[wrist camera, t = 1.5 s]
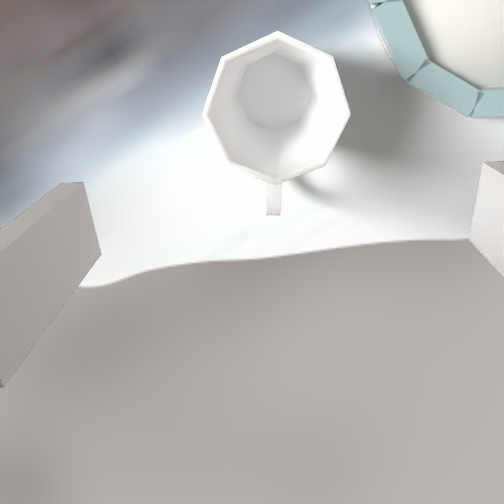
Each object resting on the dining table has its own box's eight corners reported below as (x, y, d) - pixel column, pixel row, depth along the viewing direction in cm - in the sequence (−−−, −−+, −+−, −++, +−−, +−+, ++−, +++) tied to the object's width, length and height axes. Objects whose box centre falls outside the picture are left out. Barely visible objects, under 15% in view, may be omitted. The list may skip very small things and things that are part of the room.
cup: (333, 27, 26) (359, 30, 19) (322, 188, 31) (339, 238, 24) (215, 28, 26) (196, 31, 19) (222, 187, 31) (209, 237, 24)
